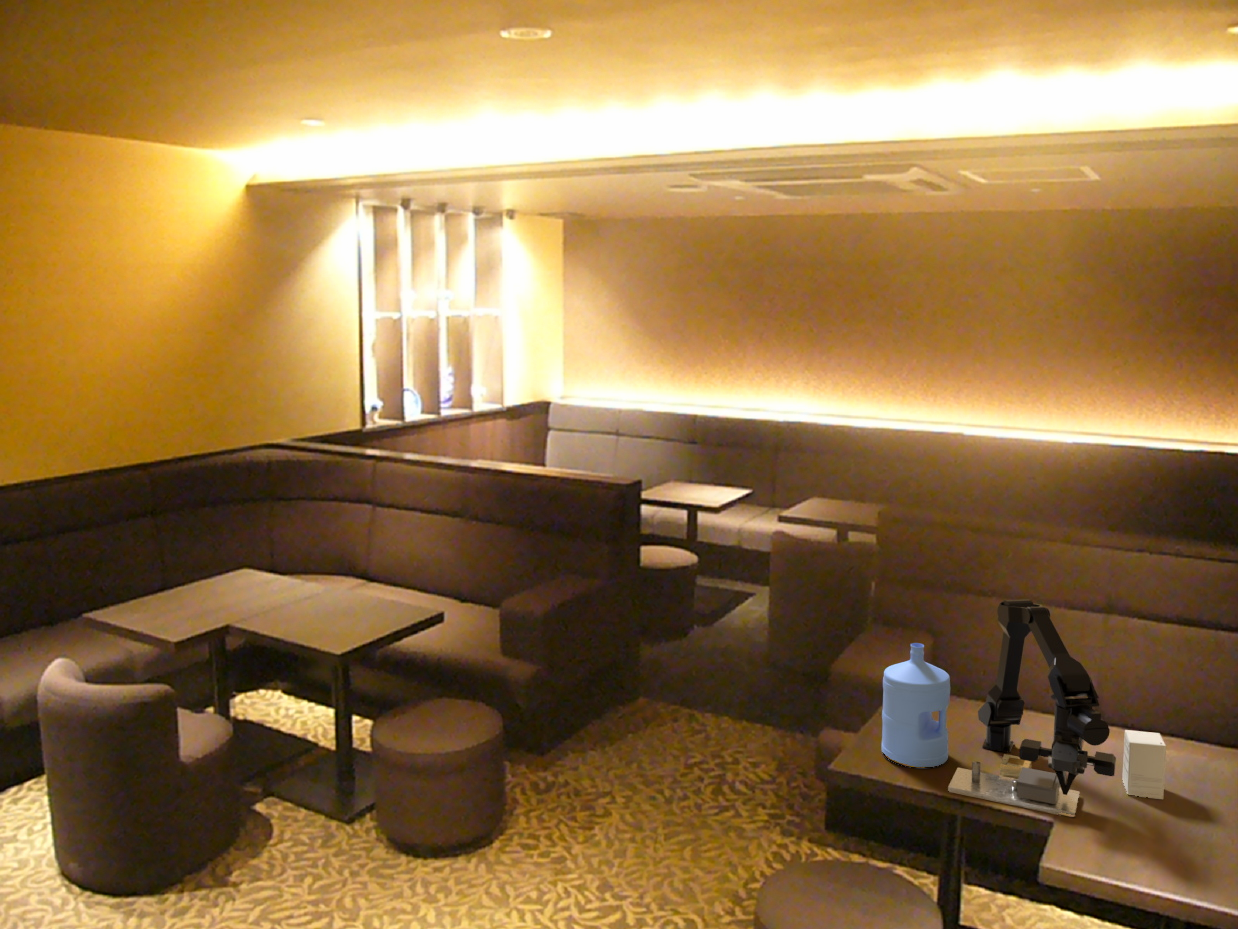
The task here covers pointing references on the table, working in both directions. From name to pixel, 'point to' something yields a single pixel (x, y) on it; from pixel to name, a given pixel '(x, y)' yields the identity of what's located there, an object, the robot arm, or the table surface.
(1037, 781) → the box
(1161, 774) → the supplement box
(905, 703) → the water jug
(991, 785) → the pin plate
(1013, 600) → the robot arm
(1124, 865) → the table surface
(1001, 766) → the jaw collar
